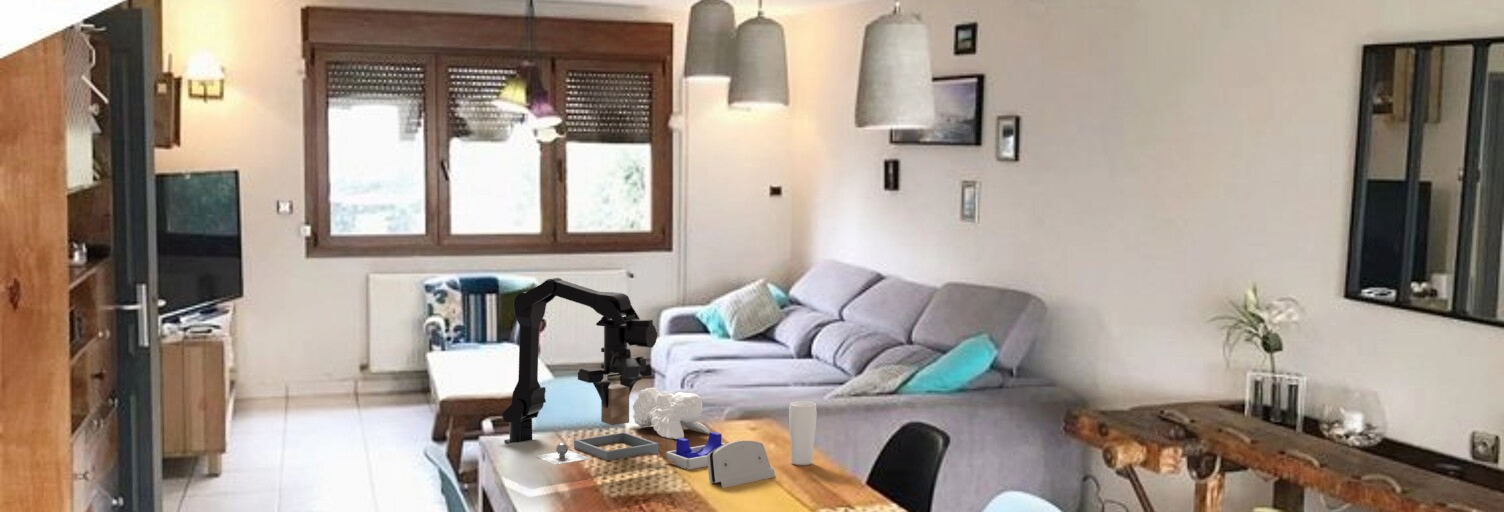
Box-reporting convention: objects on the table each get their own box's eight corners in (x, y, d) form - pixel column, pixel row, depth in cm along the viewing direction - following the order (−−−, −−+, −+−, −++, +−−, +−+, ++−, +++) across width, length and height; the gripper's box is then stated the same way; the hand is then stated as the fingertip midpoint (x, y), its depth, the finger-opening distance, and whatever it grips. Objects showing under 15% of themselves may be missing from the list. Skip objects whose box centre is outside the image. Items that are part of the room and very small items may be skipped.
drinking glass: (782, 463, 318) (783, 403, 317) (800, 458, 323) (801, 399, 322) (803, 468, 314) (804, 407, 312) (821, 463, 319) (822, 403, 317)
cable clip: (687, 465, 315) (687, 441, 314) (676, 462, 318) (676, 438, 318) (725, 458, 323) (725, 435, 322) (713, 455, 326) (713, 431, 326)
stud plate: (533, 462, 315) (533, 442, 315) (569, 456, 321) (569, 436, 321) (554, 470, 307) (554, 450, 307) (590, 464, 314) (590, 444, 313)
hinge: (722, 488, 295) (713, 444, 296) (710, 490, 298) (701, 448, 300) (776, 476, 306) (767, 434, 307) (764, 479, 309) (755, 437, 311)
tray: (573, 453, 324) (574, 439, 324) (624, 445, 334) (624, 432, 333) (606, 466, 312) (606, 452, 312) (658, 457, 322) (658, 443, 322)
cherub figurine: (667, 385, 361) (716, 388, 347) (668, 429, 361) (717, 434, 347) (631, 389, 352) (680, 393, 338) (632, 435, 352) (681, 440, 338)
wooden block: (612, 425, 318) (612, 389, 318) (600, 421, 322) (601, 386, 322) (629, 422, 321) (629, 387, 321) (617, 418, 325) (618, 383, 325)
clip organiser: (665, 461, 317) (665, 451, 317) (720, 452, 328) (720, 442, 328) (687, 469, 310) (687, 459, 310) (743, 459, 321) (743, 449, 321)
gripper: (600, 352, 308) (600, 416, 309) (665, 345, 320) (664, 407, 321) (576, 346, 317) (576, 408, 318) (639, 339, 328) (639, 400, 330)
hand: (615, 406), depth 322 cm, fingers closed on wooden block, 5 cm apart
